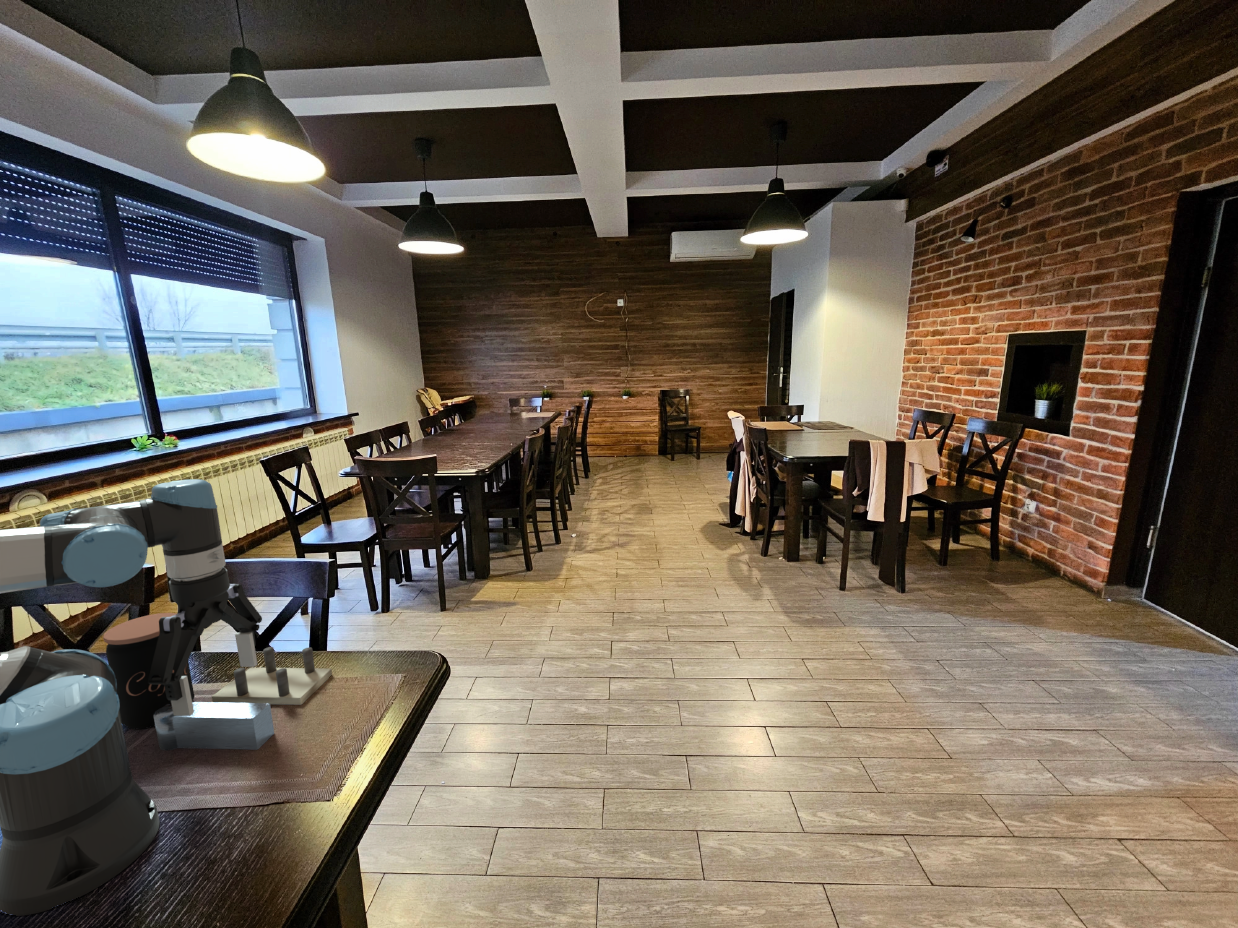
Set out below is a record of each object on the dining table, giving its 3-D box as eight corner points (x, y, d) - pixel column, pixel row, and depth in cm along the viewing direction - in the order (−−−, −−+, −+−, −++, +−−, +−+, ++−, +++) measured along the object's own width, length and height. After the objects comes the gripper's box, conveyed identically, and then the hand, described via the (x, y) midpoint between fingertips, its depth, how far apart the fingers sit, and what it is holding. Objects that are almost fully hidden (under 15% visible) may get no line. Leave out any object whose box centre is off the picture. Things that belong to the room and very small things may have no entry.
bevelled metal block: (276, 730, 91) (272, 701, 90) (255, 752, 86) (250, 720, 85) (178, 729, 92) (172, 699, 91) (150, 749, 87) (144, 718, 86)
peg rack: (301, 704, 98) (297, 674, 97) (212, 703, 99) (207, 673, 98) (332, 674, 108) (328, 646, 107) (251, 673, 109) (247, 646, 108)
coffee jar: (127, 740, 89) (108, 646, 86) (115, 716, 96) (97, 628, 93) (202, 708, 98) (188, 622, 94) (187, 688, 104) (173, 607, 101)
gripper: (147, 606, 71) (174, 739, 75) (274, 546, 96) (289, 649, 99) (97, 606, 71) (126, 738, 75) (236, 547, 96) (252, 648, 100)
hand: (219, 688), depth 87 cm, fingers open, 13 cm apart
